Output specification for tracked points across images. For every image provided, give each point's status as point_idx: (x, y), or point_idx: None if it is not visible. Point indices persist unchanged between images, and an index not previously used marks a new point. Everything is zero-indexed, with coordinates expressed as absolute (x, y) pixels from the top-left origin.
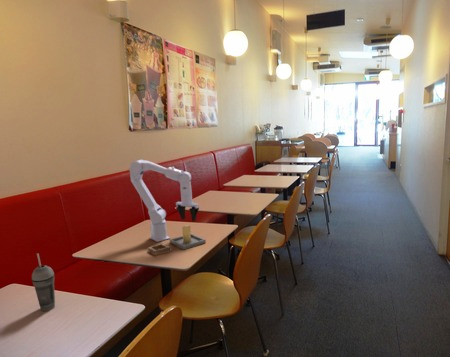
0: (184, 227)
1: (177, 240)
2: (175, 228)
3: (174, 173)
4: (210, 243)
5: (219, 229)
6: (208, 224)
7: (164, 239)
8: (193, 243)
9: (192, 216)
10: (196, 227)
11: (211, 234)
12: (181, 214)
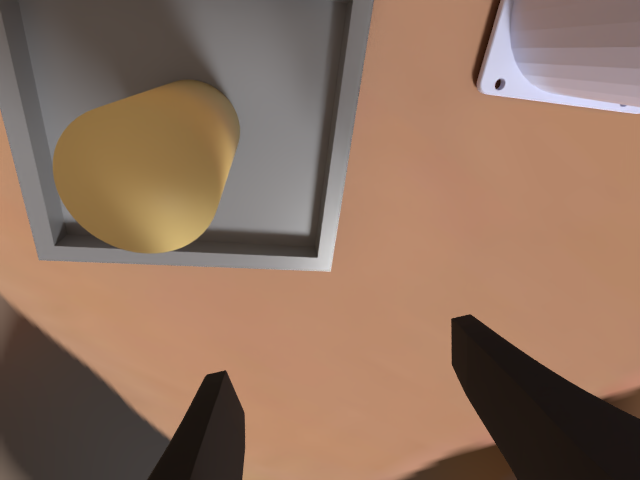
0: (120, 139)
1: (326, 80)
2: (613, 283)
3: None
4: (15, 263)
5: (286, 450)
6: (434, 452)
7: (500, 4)
8: (2, 100)
9: (164, 460)
10: None
11: (237, 377)
12: (514, 392)
